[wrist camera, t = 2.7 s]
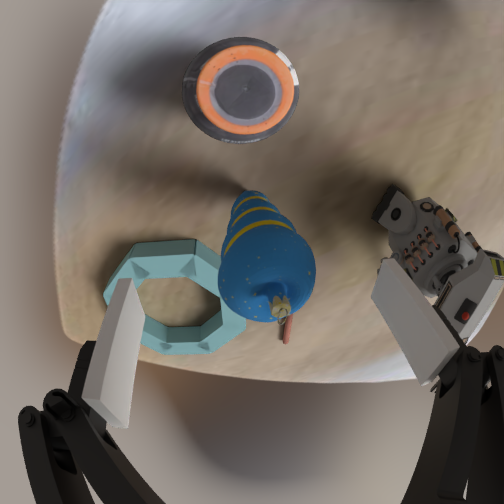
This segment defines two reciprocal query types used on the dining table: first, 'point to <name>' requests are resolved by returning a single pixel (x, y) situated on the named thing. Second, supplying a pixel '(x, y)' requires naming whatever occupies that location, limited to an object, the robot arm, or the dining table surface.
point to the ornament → (264, 262)
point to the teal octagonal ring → (179, 265)
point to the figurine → (441, 258)
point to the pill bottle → (240, 90)
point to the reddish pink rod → (287, 329)
